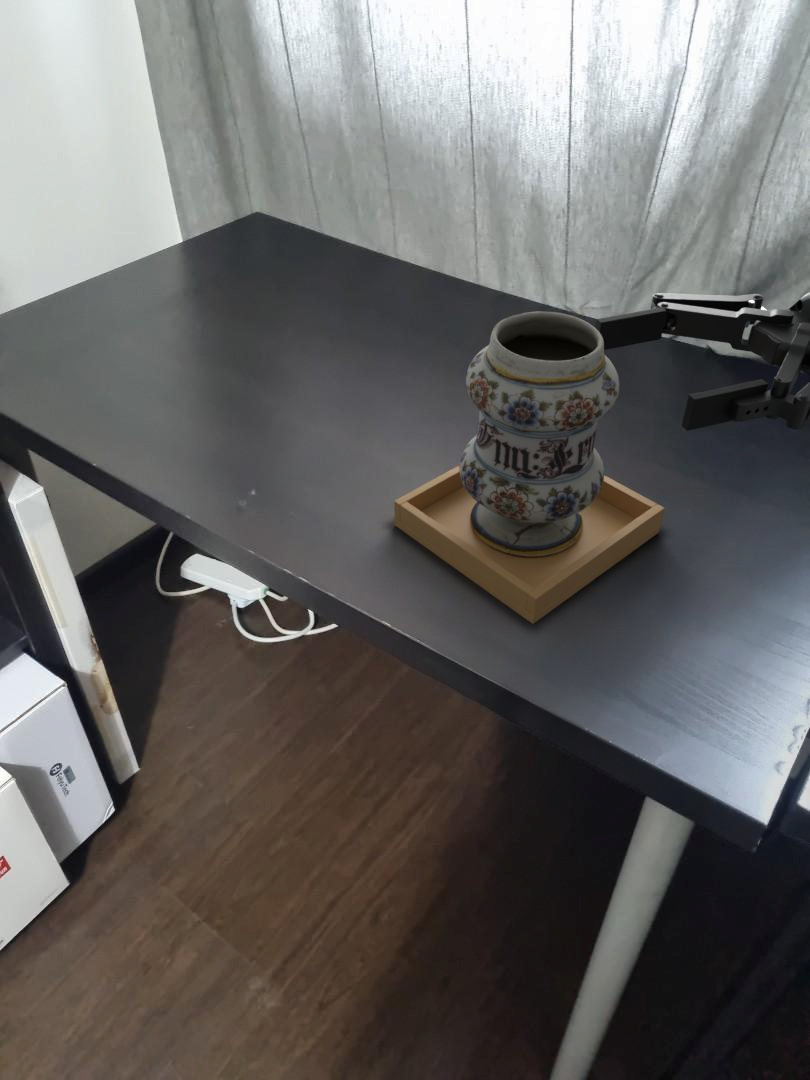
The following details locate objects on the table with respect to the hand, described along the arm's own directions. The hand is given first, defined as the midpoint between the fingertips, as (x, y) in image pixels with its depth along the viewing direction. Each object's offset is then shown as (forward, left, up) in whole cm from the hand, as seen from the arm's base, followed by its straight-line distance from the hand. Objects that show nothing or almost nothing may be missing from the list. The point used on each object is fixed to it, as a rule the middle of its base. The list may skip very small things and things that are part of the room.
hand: (638, 371), depth 67 cm
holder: (+3, +8, -14) cm, 17 cm away
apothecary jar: (+3, +8, -13) cm, 16 cm away
